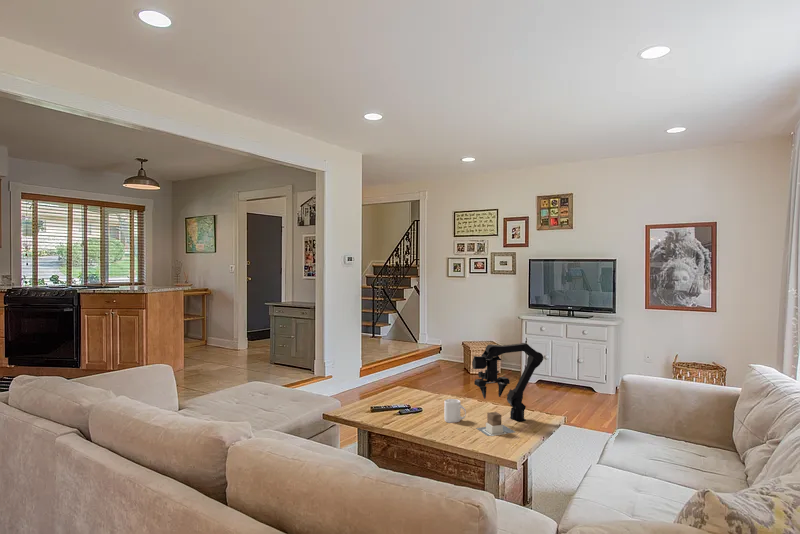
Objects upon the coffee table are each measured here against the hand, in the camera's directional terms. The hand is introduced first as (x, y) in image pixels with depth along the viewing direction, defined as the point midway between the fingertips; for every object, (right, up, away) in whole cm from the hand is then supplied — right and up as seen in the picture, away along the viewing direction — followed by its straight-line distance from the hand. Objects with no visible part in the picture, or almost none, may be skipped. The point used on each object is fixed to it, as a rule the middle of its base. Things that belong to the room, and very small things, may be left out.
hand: (492, 397), depth 254 cm
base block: (-3, -12, -19) cm, 23 cm away
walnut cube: (-3, -8, -19) cm, 21 cm away
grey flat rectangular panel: (-1, -12, -16) cm, 21 cm away
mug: (-20, -13, -1) cm, 24 cm away
